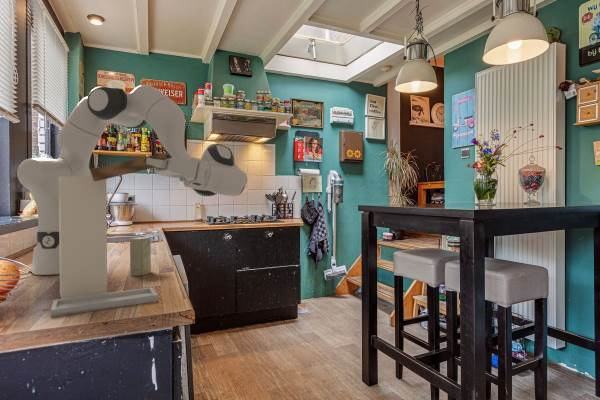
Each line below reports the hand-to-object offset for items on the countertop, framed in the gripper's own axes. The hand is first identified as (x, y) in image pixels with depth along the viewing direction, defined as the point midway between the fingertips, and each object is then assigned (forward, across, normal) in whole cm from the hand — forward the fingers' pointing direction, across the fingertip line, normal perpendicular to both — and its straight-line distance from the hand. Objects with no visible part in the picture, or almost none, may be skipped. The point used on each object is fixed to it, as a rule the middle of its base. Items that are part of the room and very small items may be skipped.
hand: (144, 161), depth 94 cm
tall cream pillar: (+6, -7, +38) cm, 39 cm away
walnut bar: (+2, 0, +4) cm, 4 cm away
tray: (+2, +6, +36) cm, 37 cm away
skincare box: (-11, -25, +35) cm, 44 cm away
